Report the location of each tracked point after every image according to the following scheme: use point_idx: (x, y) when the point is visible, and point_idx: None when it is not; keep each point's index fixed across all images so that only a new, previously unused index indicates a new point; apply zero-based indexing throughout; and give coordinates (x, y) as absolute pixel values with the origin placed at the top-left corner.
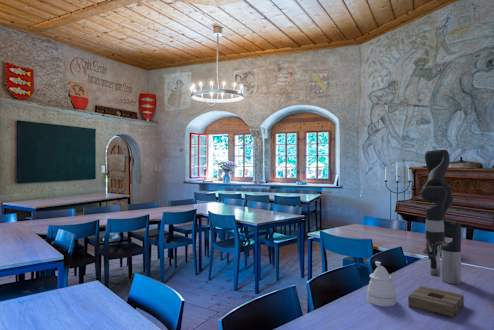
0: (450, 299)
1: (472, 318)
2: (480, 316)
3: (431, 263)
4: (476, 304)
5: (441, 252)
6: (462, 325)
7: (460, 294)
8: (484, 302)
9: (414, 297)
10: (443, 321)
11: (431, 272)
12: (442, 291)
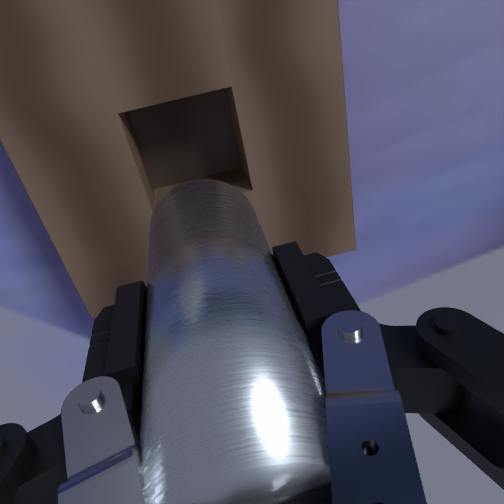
0: None
1: None
2: None
3: (89, 354)
4: (403, 239)
5: (502, 428)
6: (69, 331)
7: (350, 235)
8: (460, 246)
9: None
10: (15, 269)
11: (152, 232)
12: (319, 136)
